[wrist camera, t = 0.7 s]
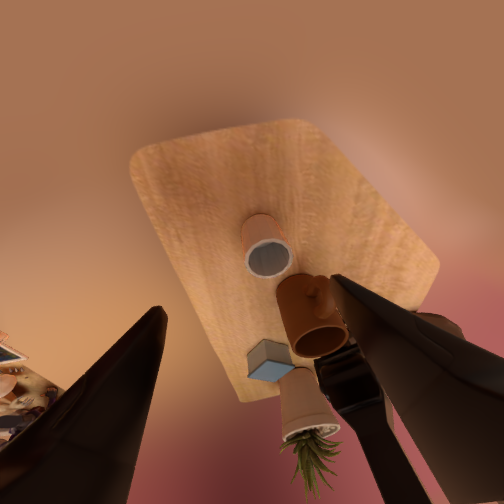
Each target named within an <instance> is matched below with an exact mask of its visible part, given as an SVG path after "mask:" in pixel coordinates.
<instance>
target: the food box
mask: <svg viewBox="0 0 504 504" xmlns="http://www.w3.org/2000/svg"><path fill="white" fill-rule="evenodd" d="M247 360H248V371H249V374H248V375H247V376H248V378H252V379H258V380H264V381H270V382H276V381H277V380H278V379H280V378H281V377H283V376H284V375H285V374H287V373H288V372H289V371H291V370H292V369H293V368H295V365H294V364H293V363H292V360H291V356H290V352H289V349H288V346H286V345H283V344H279V343H275V342H272V341H268V340H265V339H263V340H262V341H261V342H260V343H259V344H258V345H257V346H256V347H255V348H254V349H253V350H252V351H251V352H250V353H249V354H248V355H247Z"/></svg>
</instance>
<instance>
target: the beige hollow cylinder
mask: <svg viewBox="0 0 504 504" xmlns="http://www.w3.org/2000/svg"><path fill="white" fill-rule="evenodd" d="M241 241H242V249H243V257H244V264H245V266H246V269H247V271H248V272H249V273H250V274H252V275H253V276H255V277H258V278H262V279H269V278H275V277H277V276H279V275H281V274H283V273H284V272H285V271H286V270H287V269H288V268H289V267H290V266H291V263H292V260H293V252H292V248H291V246H290V245H289V243H288V241H287V239H286V237H285V236H284V234H283V232H282V230H281V228H280V227H279V225H278V223H277V222H276V221H275V219H273V218H272V217H271V216H269V215H265V214H257V215H254V216H251V217H250V218H248V219H247V220H246V221H245V222H244V224H243V226H242V229H241Z"/></svg>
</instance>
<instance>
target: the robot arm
mask: <svg viewBox="0 0 504 504" xmlns="http://www.w3.org/2000/svg"><path fill="white" fill-rule="evenodd" d="M329 289H330V292H331V294H332V296H333V299H334V301H335V303H336V305H337V308H338V310H339V312H340V314H341V316H342V318H343V319H342V320H343V322H344V324H346V325H347V327H348V329H349V330H350V332H351V334H352V336H353V337H354V339H355V341H356V343H355V344H351V342H350V341H349V339H348V340H347V342H346V343H345V344H344V345H343V346H342V347H341V348H340V349H338V350H336V351H335V352H333V353H330V354H328V355H325V356H322V357H321V358H318V359H314V360H313V361H314V367H315V370H316V374H317V377H318V382H319V388H320V391H321V393H323V394H324V395H325V396H326V398H327V400H328V401H329V402H330V403H331V404H332V406H333V408H334V409H335V410H336V411H337V412H338V414H339V415H340V416H341V417H342V418H343V419H344V420H345V421H346V422H347V423H348V424H349V425H350V426H351V428H352V429H353V430H354V431H355V432H356V434H357V437H358V439H359V441H360V444H361V446H362V449H363V451H364V454H365V456H366V458H367V461H368V463H369V466H370V468H371V471H372V473H373V476H374V478H375V481H376V483H377V485H378V488H379V490H380V493H381V495H382V498H383V500H384V503H385V504H434V503H433V502H432V500H431V498H430V496H429V494H428V492H427V490H426V489H425V487H424V485H423V483H422V481H421V480H420V478H419V476H418V474H417V472H416V471H415V469H414V467H413V465H412V463H411V462H410V460H409V458H408V456H407V454H406V453H405V451H404V449H403V447H402V445H401V443H400V442H399V440H398V438H397V436H396V434H395V432H394V422H393V409H392V404H393V406H394V408H395V409H396V411H397V413H398V415H399V416H401V417H400V418H401V420H402V422H403V423H404V425H405V427H406V429H407V430H408V432H409V434H410V435H411V437H412V439H413V441H414V442H415V444H416V446H417V448H418V449H419V451H420V453H421V454H422V456H423V458H424V459H425V461H426V463H427V465H428V466H429V468H430V470H431V472H432V473H433V475H434V477H435V478H436V480H437V482H438V484H439V485H440V487H441V489H442V491H443V492H444V494H445V496H446V497H447V499H448V500H449V502H450V504H477V503H486V502H494V501H497V502H498V503H499V504H504V358H502V357H500V356H498V355H496V354H494V353H491V352H489V351H487V350H485V349H483V348H481V347H479V346H477V345H474V344H472V343H470V342H468V341H466V340H464V339H462V338H460V337H458V336H455V335H453V334H451V333H449V332H447V331H445V330H443V329H441V328H439V327H437V326H435V325H433V324H431V323H430V322H428V321H426V320H424V319H422V318H420V317H418V316H416V315H413V314H412V313H411V312H409V311H407V310H405V309H403V308H401V307H400V306H398V305H396V304H394V303H392V302H390V301H389V300H387V299H385V298H383V297H381V296H379V295H377V294H376V293H374V292H372V291H370V290H368V289H366V288H365V287H363V286H361V285H359V284H357V283H355V282H353V281H352V280H350V279H348V278H346V277H344V276H342V275H341V274H334V275H331V277H330V283H329ZM167 322H168V316H167V314H166V312H165V311H164V309H163V308H162V306H154V307H152V308H150V309H149V311H147V312H146V313H145V314H144V315H143V316H142V317H141V318H140V319H139V320H138V321H137V322H136V323H135V324H134V325H133V326H132V327H131V328H130V329H129V330H128V331H127V332H126V333H125V334H124V335H123V336H122V337H121V338H120V339H119V340H118V341H117V342H116V343H115V344H114V345H113V346H112V347H111V348H110V349H109V350H108V351H107V352H106V353H105V354H104V355H103V356H102V357H101V358H100V359H99V360H98V361H97V362H95V363H94V364H93V365H92V366H91V368H90V369H89V370H87V371H86V372H85V374H84V375H82V376H81V377H80V378H79V379H78V380H77V381H76V382H75V383H74V384H73V385H72V386H71V387H70V388H69V389H68V390H67V391H66V392H65V393H64V394H63V395H62V396H60V397H59V398H58V399H57V400H56V401H55V402H54V403H53V404H52V405H51V406H50V407H49V408H47V409H46V410H45V411H44V412H43V413H42V414H41V415H40V416H39V417H37V418H36V419H35V420H34V421H33V422H32V423H31V424H30V425H29V426H27V427H26V428H25V429H24V430H23V431H22V432H21V433H20V434H18V435H17V436H16V437H15V438H14V439H13V440H12V441H11V442H10V443H8V444H7V445H6V446H5V447H4V448H3V449H2V450H1V451H0V504H126V503H127V499H128V495H129V491H130V487H131V482H132V478H133V474H134V470H135V465H136V461H137V457H138V453H139V449H140V445H141V441H142V436H143V432H144V428H145V424H146V420H147V416H148V412H149V408H150V404H151V399H152V396H153V391H154V387H155V383H156V379H157V375H158V371H159V367H160V362H161V359H162V354H163V350H164V344H165V337H166V330H167ZM364 357H365V358H364ZM381 385H382V387H383V389H384V390H383V389H382V387H381ZM384 391H385V392H386V394H387V395H386V394H385V392H384ZM387 396H388V397H389V398H388V397H387ZM389 399H390V400H389ZM390 401H391V402H390ZM391 403H392V404H391Z"/></svg>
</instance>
